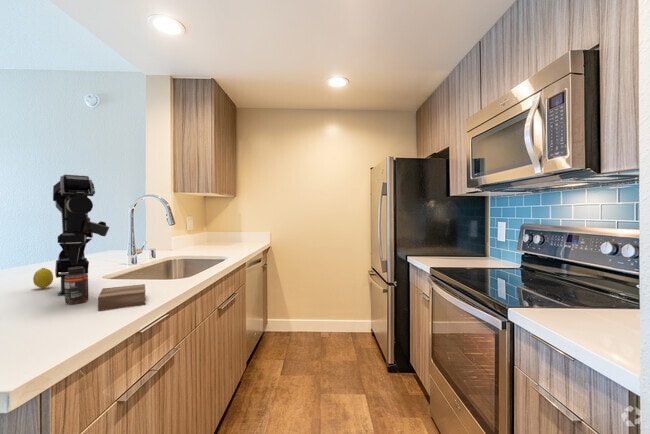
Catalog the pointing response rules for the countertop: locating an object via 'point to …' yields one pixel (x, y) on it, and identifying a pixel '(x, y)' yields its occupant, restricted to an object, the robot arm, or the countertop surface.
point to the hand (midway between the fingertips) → (77, 262)
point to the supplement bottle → (76, 286)
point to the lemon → (43, 278)
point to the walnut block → (121, 297)
